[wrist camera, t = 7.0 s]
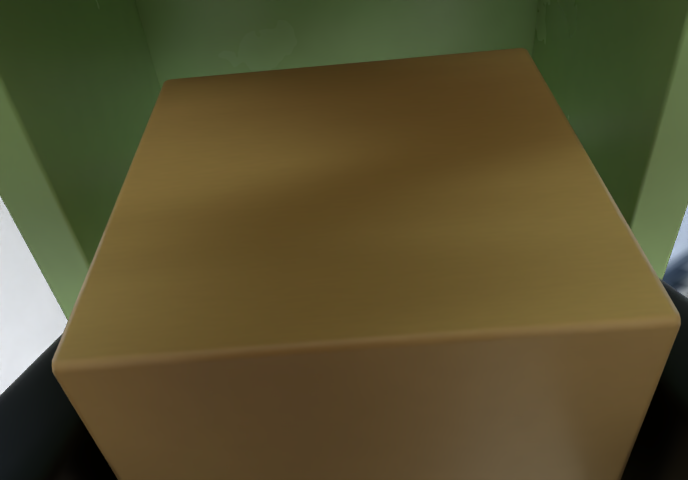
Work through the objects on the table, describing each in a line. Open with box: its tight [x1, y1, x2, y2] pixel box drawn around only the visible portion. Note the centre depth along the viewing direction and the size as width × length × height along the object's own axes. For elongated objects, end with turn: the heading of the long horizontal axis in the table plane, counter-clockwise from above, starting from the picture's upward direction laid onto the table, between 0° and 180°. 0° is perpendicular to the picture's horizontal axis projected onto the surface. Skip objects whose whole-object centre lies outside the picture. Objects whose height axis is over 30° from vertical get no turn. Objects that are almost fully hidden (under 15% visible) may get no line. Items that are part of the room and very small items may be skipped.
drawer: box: [0, 0, 688, 320], centre depth 12 cm, size 18×11×7 cm, turn 5°
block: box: [52, 48, 681, 480], centre depth 7 cm, size 4×4×4 cm
